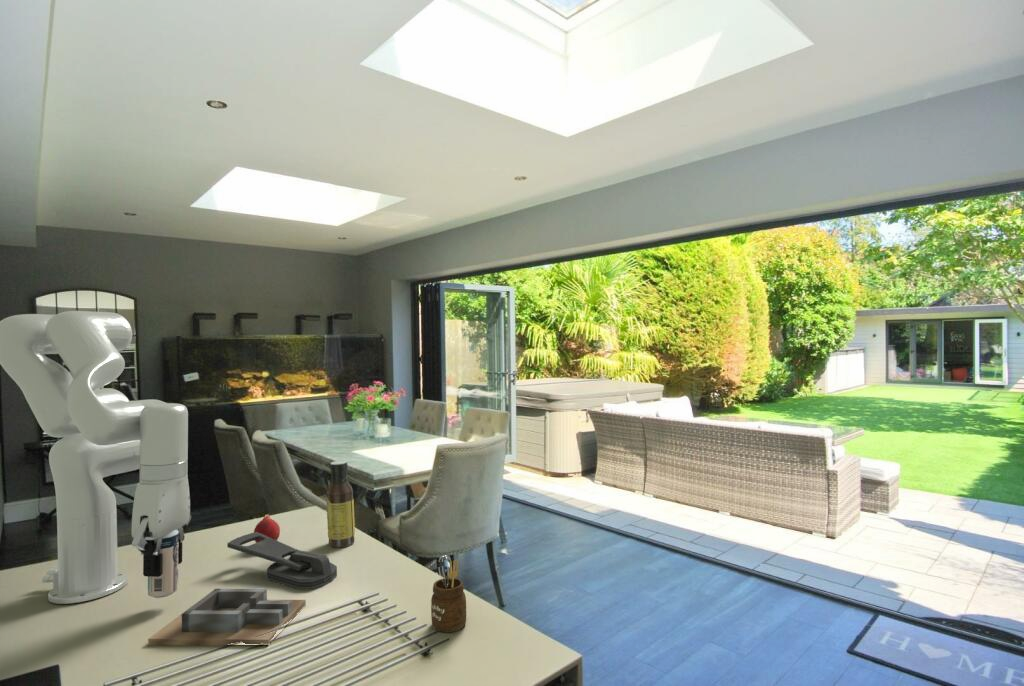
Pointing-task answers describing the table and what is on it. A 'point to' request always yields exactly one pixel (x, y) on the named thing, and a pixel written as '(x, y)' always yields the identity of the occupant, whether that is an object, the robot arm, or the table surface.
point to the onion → (268, 528)
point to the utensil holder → (448, 602)
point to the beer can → (166, 567)
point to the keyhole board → (229, 619)
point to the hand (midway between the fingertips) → (163, 568)
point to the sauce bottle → (340, 507)
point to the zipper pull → (288, 562)
